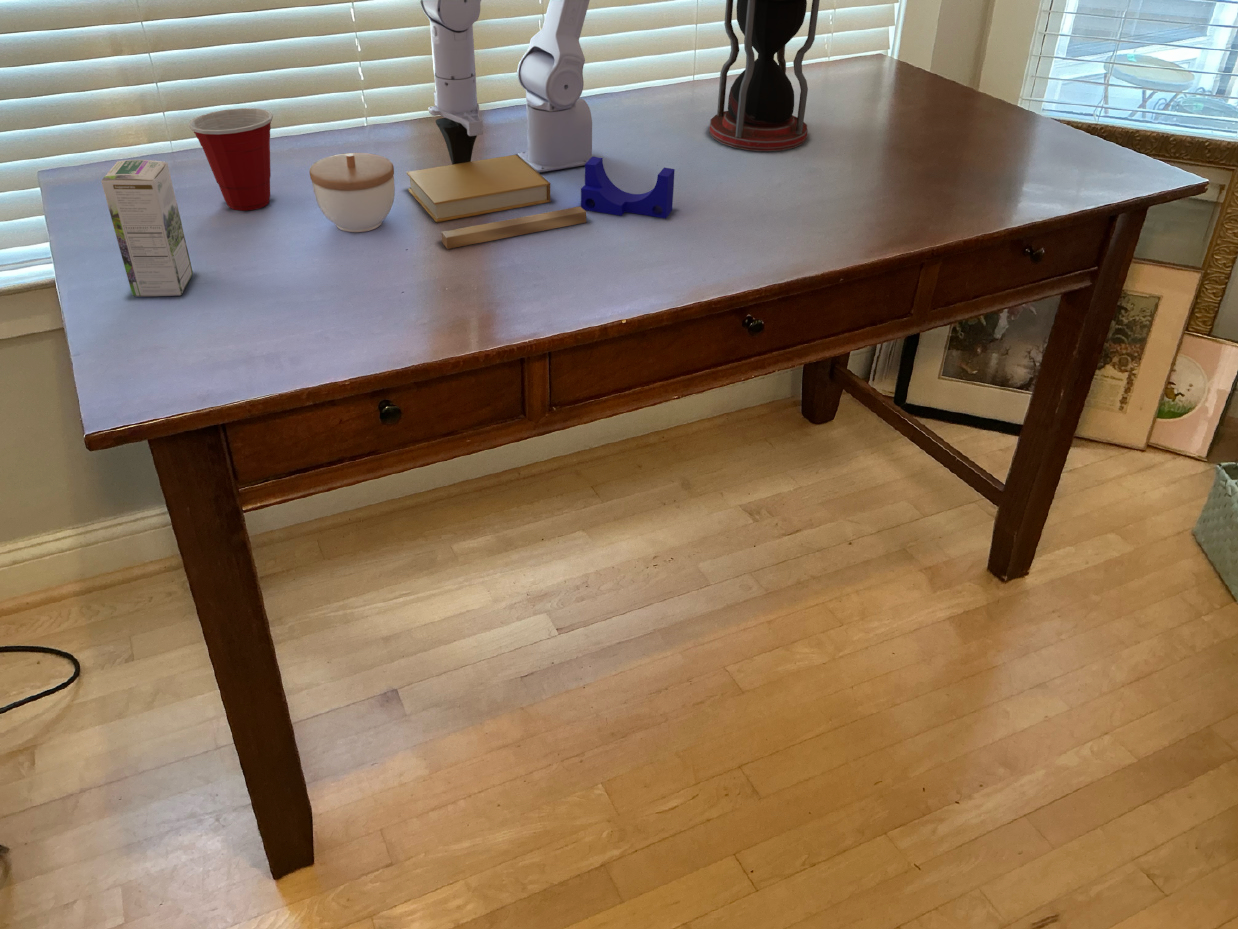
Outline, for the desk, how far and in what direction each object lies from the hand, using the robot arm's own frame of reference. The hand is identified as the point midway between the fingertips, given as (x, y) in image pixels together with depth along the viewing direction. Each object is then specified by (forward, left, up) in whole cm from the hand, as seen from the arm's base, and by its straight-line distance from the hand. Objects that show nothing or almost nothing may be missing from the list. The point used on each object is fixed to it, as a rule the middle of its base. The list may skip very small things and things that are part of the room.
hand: (461, 168), depth 150 cm
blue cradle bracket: (-17, +20, -2) cm, 26 cm away
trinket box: (+18, +9, -2) cm, 20 cm away
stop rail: (0, +20, -2) cm, 20 cm away
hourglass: (-51, +2, -2) cm, 51 cm away
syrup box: (+44, +17, -2) cm, 47 cm away
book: (0, +7, -2) cm, 7 cm away
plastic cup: (+30, -4, -2) cm, 30 cm away
